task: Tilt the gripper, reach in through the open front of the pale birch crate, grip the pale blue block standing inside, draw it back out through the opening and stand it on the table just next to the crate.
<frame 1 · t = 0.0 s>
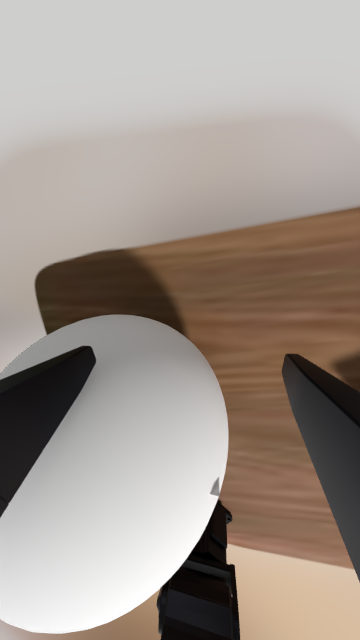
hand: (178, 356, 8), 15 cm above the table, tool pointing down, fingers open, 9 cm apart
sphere: (155, 368, 27), on the table
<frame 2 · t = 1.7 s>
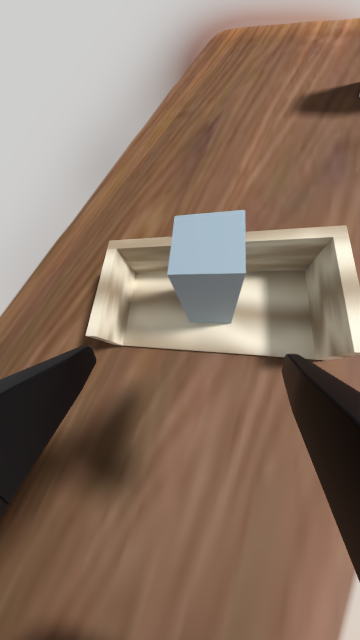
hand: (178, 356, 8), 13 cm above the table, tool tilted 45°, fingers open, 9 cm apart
pale blue block: (210, 303, 22), resting on birch crate
birch crate: (210, 305, 23), on the table
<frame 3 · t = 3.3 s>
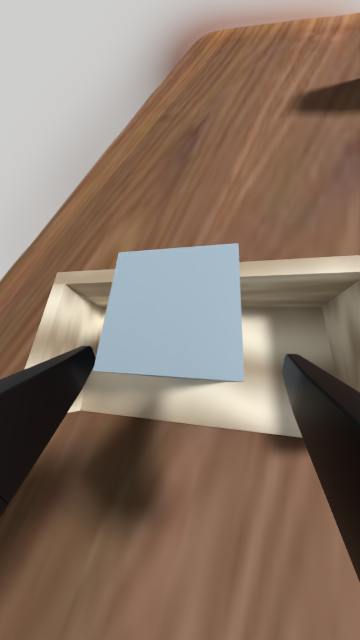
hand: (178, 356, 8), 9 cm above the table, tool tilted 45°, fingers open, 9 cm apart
pale blue block: (197, 352, 17), resting on birch crate
birch crate: (198, 352, 17), on the table
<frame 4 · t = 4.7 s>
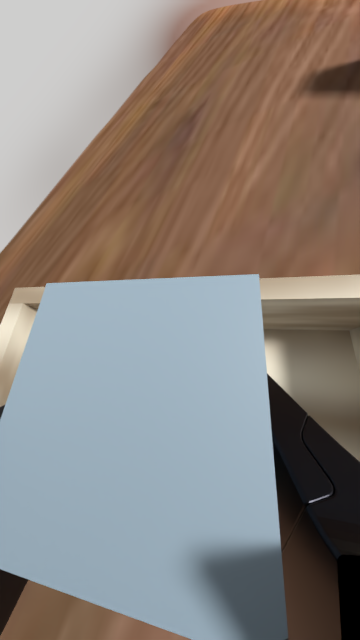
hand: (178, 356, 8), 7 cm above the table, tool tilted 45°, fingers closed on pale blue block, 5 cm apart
pale blue block: (192, 385, 13), resting on birch crate, touching gripper
birch crate: (193, 385, 14), on the table
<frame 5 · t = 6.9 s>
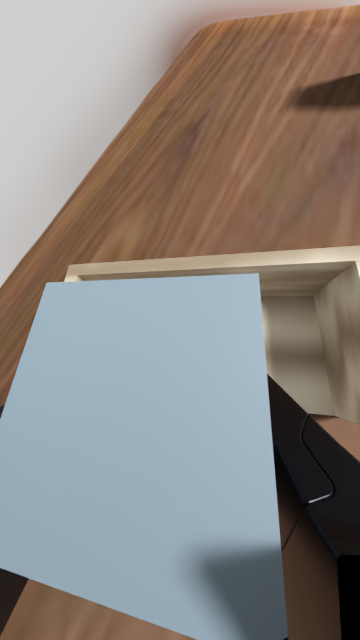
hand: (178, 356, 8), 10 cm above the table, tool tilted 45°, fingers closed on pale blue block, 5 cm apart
pale blue block: (192, 385, 13), point 4 cm above the table, touching gripper
birch crate: (199, 339, 19), on the table
when the fingers open (7 cm above the table, at t = 9.1 s): pale blue block drops 1 cm, on the table.
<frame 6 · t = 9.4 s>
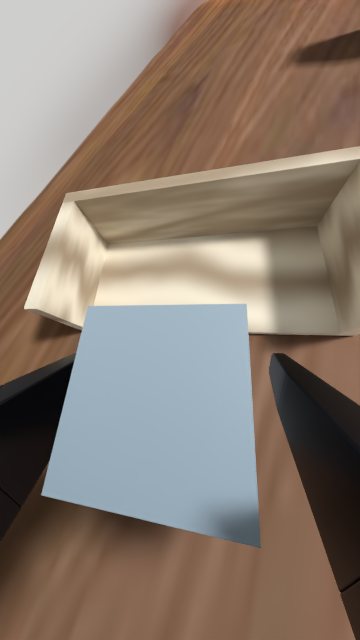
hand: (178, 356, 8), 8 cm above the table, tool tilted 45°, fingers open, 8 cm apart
pale blue block: (195, 384, 15), on the table
birch crate: (199, 275, 18), on the table
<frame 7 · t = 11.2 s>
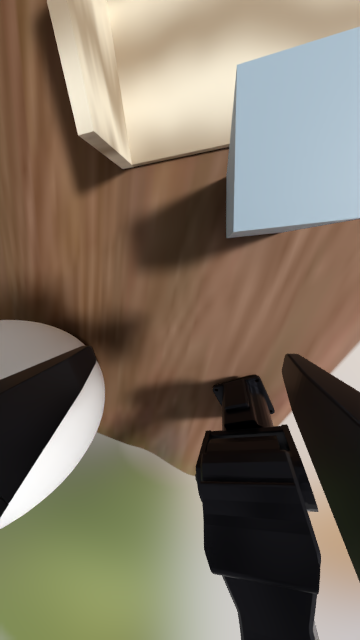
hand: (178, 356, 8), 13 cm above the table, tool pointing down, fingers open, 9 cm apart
pale blue block: (254, 205, 16), on the table
birch crate: (265, 26, 12), on the table
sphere: (75, 356, 29), on the table
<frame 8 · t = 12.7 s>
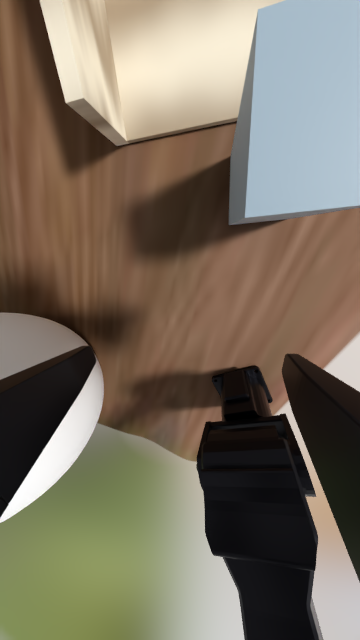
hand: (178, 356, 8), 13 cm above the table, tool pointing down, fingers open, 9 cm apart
pale blue block: (259, 188, 15), on the table
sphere: (71, 348, 28), on the table
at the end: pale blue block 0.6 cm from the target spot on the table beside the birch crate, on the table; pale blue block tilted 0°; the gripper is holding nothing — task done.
